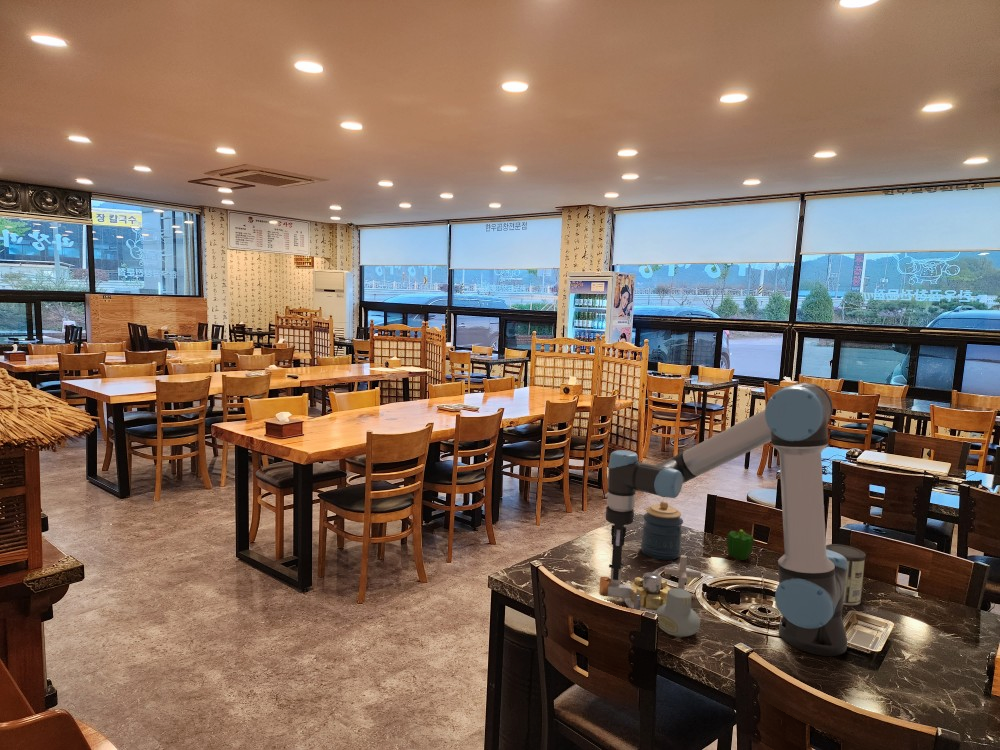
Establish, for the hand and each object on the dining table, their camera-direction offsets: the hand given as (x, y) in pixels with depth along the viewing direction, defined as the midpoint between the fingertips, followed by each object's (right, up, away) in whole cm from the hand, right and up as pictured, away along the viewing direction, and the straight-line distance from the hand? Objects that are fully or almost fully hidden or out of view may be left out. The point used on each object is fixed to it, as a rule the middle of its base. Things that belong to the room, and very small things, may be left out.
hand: (614, 588), depth 171 cm
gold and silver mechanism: (+6, -3, -5) cm, 9 cm away
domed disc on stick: (+5, -1, -2) cm, 6 cm away
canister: (+22, 0, +34) cm, 40 cm away
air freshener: (+12, -5, -16) cm, 21 cm away
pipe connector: (+21, -3, +7) cm, 22 cm away
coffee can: (+67, -5, +7) cm, 67 cm away
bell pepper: (+47, -1, +34) cm, 58 cm away
